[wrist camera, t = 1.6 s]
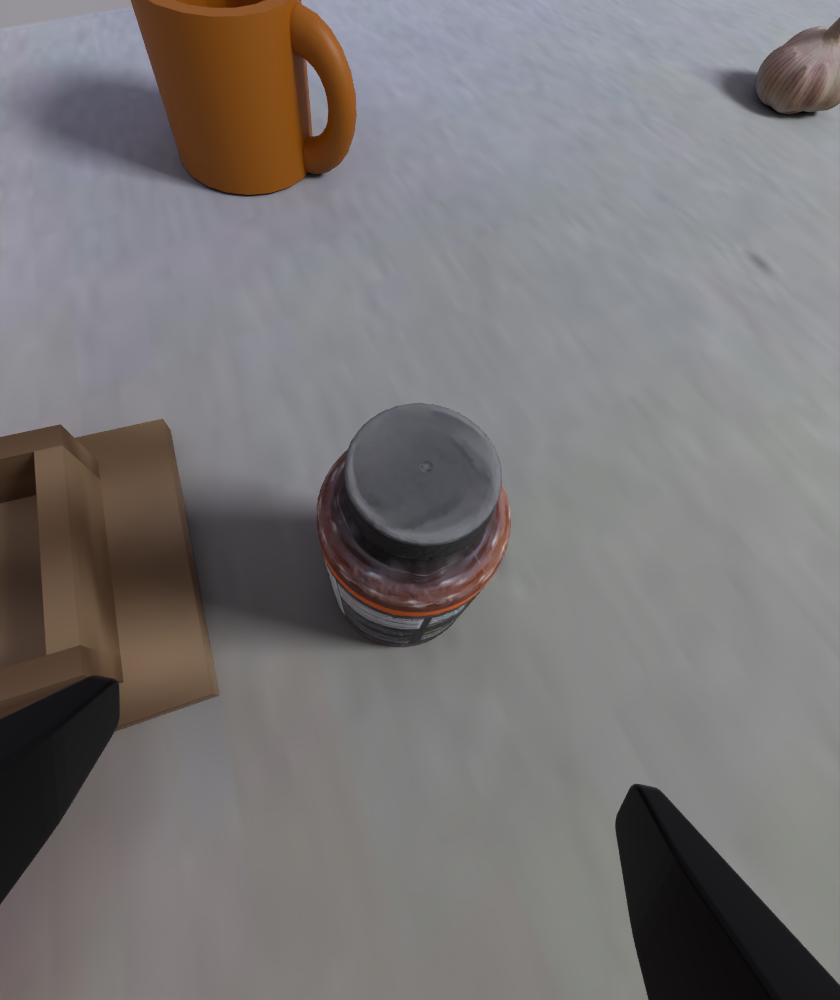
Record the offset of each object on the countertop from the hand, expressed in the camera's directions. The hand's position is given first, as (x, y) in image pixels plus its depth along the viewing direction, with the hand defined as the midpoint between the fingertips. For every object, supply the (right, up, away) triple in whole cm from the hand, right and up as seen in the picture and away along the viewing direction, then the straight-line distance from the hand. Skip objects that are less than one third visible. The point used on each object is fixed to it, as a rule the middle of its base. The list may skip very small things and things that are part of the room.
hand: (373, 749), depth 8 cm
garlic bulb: (+34, +40, +36) cm, 63 cm away
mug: (-10, +27, +25) cm, 38 cm away
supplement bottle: (0, 0, +14) cm, 14 cm away
